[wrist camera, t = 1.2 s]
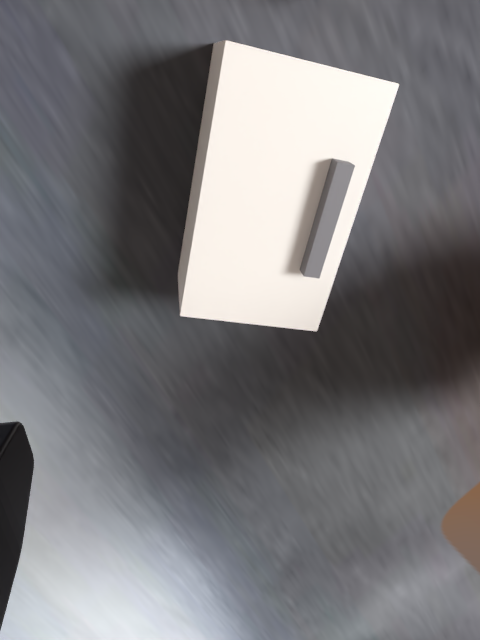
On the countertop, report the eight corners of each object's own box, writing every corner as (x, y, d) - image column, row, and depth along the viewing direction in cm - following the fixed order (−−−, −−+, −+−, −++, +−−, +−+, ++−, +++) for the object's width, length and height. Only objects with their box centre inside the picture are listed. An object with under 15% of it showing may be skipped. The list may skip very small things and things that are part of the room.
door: (353, 78, 18) (408, 85, 14) (293, 288, 22) (321, 339, 18) (212, 43, 16) (228, 39, 12) (177, 272, 21) (180, 324, 17)
